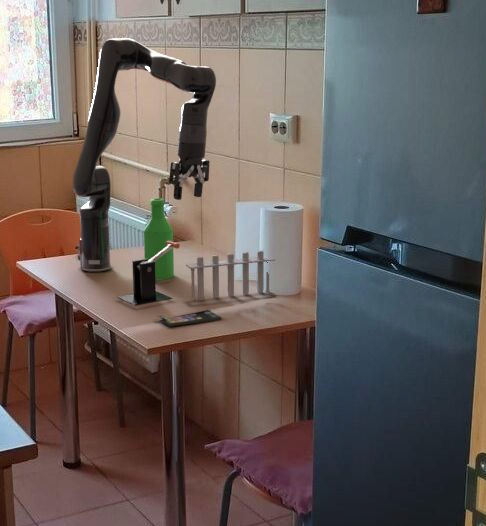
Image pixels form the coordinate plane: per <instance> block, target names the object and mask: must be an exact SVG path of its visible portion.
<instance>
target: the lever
mask: <svg viewBox="0 0 486 526" xmlns="http://www.w3.org/2000/svg"><path fill="white" fill-rule="evenodd" d="M166 245H167V246H166V247H165V248H164V249H163V250H161V251H160V252H159V253H158V254H156V255H155V256H154V257H153V258H151V259H150V260H149V261H148V262H151V261H154V262H155V261H157V260H158V259H159V258H160V257H162V256H163V255H164V254H165V253H167V252H168V251H169V250H170V249H172V248H173V249H179V248H180V246H181V245H180V243H177V242H174V241H173V242H172V241H167V242H166ZM145 262H146V261H143V262H141V263H145ZM137 268H138V270H139V272H140V264H139V265H137Z"/></svg>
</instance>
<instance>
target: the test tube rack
mask: <svg viewBox="0 0 486 526" xmlns="http://www.w3.org/2000/svg"><path fill="white" fill-rule="evenodd" d="M256 254H257V255H256V256H253V257H250V253H249V251H243V252H242V258H235V255H234V253H231V252H229V253H227V255H226V256H227V259H223V260H219V259H220V258H219V254H212V257H211V259H212V260H211V261H204V256H201V255H198V256H197V258H196V262H193V263H192V262H191V263H185V267H187V268H188V269H189V270H190V273H191V299H190V300H191V301H196V295H195V293H196V291H195V290H196V287H195V285H196V284H195V271H197V272H196V274H197V275H196V276H197V279H196V280H197V281H196V282H197V300H199V301H202V300H204V299H205V280H204V279H205V277H204V276H205V274H204V270H205V268H211V269H212V270H211V271H212V297H213V299H219V298H220V267H225V266H227V297H230V298H231V297H235V265H242V295H243V296H248V295H250V264H253V263H254V264H255V263H257V265H256V270H257V271H256V274H257V275H256V276H257V277H256V279H257V280H256V281H257V283H256V284H257V289H256V290H257V294H263V293H264V282H265V281H266V282H265V288H266V289H265V293H270V292H271V290H270V273H269V274H268V272H265V274H266V275H265V274H264V266H265V265H264V263H266V262H267V261H270V262H274V261H275V262H276V258H274V259H269V258H264V256H265V255H264V254H265V252H264V250H262V249H261V250H257V252H256ZM267 263H268V262H267ZM264 275H265V277H266V278H265V277H264ZM264 278H265V279H264ZM264 280H265V281H264ZM272 298H276V295H273V296H267V299H272ZM262 299H265V297H264V298H262Z"/></svg>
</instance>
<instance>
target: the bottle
mask: <svg viewBox="0 0 486 526" xmlns="http://www.w3.org/2000/svg"><path fill="white" fill-rule="evenodd" d="M165 204H166V203H165V200H164V198H161V197H155V198H152V199H150V210H151V211H150V212H151V213H150V214H151V215H150V216H151V218H150V219H149V221H148V223H147V224H146V226H145V227H144V229H143V250H144V251H143V253H144V256H143V257H144V259H145V258H146V259H148V261H149V260H150V259H151V258H153V257H154V256H155V255H156V254H158V253H159V252H160V251H161V250H163V249H164V248H165V247H166V246H167V245H166V242H167V241H172V242H174V228H173V227H172V226H171V224H170V223H169V222H168V220H167V219H166V217H165ZM174 259H175V258H174V247H173V248H172V249H170V250H169V251H168V252H167V253H165V254H164V255H163V256H162V257H160V258H159V259H158V260H157V261H155V279H156V281H163V280H169V279H172V278H174V276H175V261H174Z"/></svg>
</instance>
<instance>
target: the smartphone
mask: <svg viewBox="0 0 486 526" xmlns="http://www.w3.org/2000/svg"><path fill="white" fill-rule="evenodd" d="M157 317H158V318H160V319H159V321H160V322H162V323H163V324H165V325H166V326H168V327H176V326H184V325H190V324H198V323H206V322H212V321H220V320H222V316H220V315H218V314H216V313H214V312H212V311H210V310H208V309H206V310H201V311H196V312H191V313H186V314H181V315H177V316H173V317H169V318H167V317H165V316H164V315H157Z"/></svg>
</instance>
